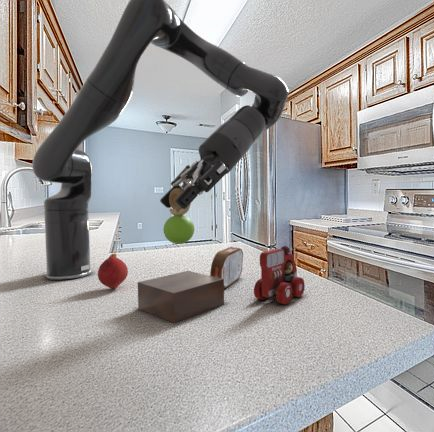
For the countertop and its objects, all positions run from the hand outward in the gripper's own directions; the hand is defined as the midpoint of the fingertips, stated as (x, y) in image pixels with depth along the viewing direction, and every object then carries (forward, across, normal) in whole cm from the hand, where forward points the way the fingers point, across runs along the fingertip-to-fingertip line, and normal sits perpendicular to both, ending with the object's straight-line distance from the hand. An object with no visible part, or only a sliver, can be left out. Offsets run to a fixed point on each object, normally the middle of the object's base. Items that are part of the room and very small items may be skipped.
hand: (171, 204), depth 56 cm
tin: (+2, -7, +25) cm, 26 cm away
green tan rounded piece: (+4, 0, +6) cm, 8 cm away
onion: (+17, -21, +10) cm, 29 cm away
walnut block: (+12, 0, +15) cm, 19 cm away
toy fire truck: (+1, +9, +27) cm, 28 cm away
